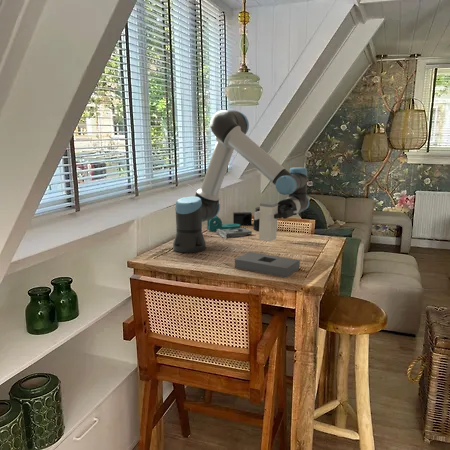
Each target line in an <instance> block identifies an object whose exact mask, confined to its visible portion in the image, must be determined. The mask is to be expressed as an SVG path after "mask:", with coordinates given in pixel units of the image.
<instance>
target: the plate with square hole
mask: <svg viewBox="0 0 450 450" xmlns="http://www.w3.org/2000/svg"><path fill="white" fill-rule="evenodd" d="M300 262H301V261H300V259H296V258H288V257H283V256H277V255H271V254H267V253H266V254H264V253H259V252H252V251H248V252H246V253H244V254H242V255H240V256H238V257H236V258H235V259H234V268H235V269H238V270H244V271H250V272H255V273H261V274H265V275H270V276H276V277H281V278H286V279H287V278H289V277H290V276H291V275H293V274H294V273H296V272H298V271H299V270H300V265H301V263H300Z"/></svg>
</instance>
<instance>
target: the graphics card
mask: <svg viewBox="0 0 450 450" xmlns="http://www.w3.org/2000/svg"><path fill="white" fill-rule="evenodd" d="M216 230H217V231H215V233H216V235H217V236H218V235H219V237H221V238H222V239H225V240H228V239H227V238H229V239H231V238H235V237H245V236H247V235H251V234H252V232H253V231H252V230H250V229H248V228H247V227H240V228H235V229H223V230H220V229H216Z"/></svg>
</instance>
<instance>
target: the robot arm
mask: <svg viewBox="0 0 450 450" xmlns="http://www.w3.org/2000/svg"><path fill="white" fill-rule="evenodd" d="M209 126H210V130H211V132H212V134H213V135H214V137H215V141H216V142H215V144H214V145H215V146H214V149H213V151H212V155H211V157H210V161H209V162H208V166H207V169H206V173H205V176H204V178H203V182H202V184H201V187H200V188H198V189H197V190H196V192H195V195H194V196H192V195H191V196H184V197H181V198H178V199H177V200H176V202H175V227H176V229H175V231H176V233H175V236H174V240H173V243H172V249H173V250H174V251H175V252H178V253H187V254H189V253H198V252H202V251H205V250H206V249H207V247H206V246H207V243H206V239H205V238H204V234H203V229H202V228H203V227H202V226H203V225H202V224H203V223H204V222H207V220H210V219H212V218H214V217H215V216H217V215H218V214H219V212H220V209H221V204H220V200H221V197H220V195H219V193H220V190H221V187H222V184H223V181H224V178H225V176H226V172H227V169H228V167H229V164H230V161H231V159H232V157H233V153H234V151H235V152H237V154H239V155H240V156H242V158H244V159H245V160H246V161H247V162H248V163H249V164H250V165H252V166H253V167H254V168H255V169H256V170H257V171H258V172H260V173H261V175H263V176H264V177H265V178H266V179H268V180H269V181H270V182H271V183H272V184H273V185H275V189H276V191H277V192H278V193H279V194H281V195H284V196H285V195H288V197H286V198H283V199H281V200H279V201H278V202H277V203H278V211H276V212H273V213H270V214H268V221H269V222H270V221H273V220H275V219H277V220H278V219H279V220H280V219H282V218H283V220H284V219H285V220H286V219H288V218H291V217H293V216H297V214H299V213H304V211H306V210H307V209H308V208H309V206H310V199H309V197H308V196H307V194H308V193H307V186H308V169H307V167H299V166H297V167H296V166H295V167H294V166H293V167H290V168H289V170H287V169H286V168H285V167H284V166H283V165H281V164H280V163H279V162H278V161H277V160H275V159H274V158H273V157H272V156H271V155H270V154H268V153H267V152H266V151H265V150H264V149H263V148H261V147H260V146H259V145H258V144H257V143H256V142H255V141H253V140H252V139H251V138H250V137H249V136H248V135H246V134H247V133H248V131H249V127H250V123H249V119H248V117H247V116H246V115H245V114H244V112H241V111H238V110H227V109H222V110H218V111H216V112H215V113H214V114H213V115H212V117H211V119H210V123H209ZM253 214H254V216H253V219H254V220H257V219H260V208H258V209H257V212H254V213H253Z"/></svg>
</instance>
